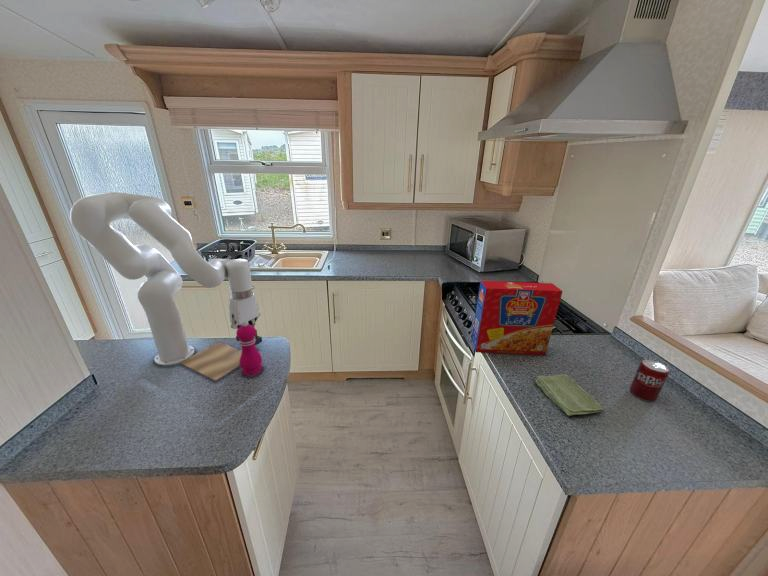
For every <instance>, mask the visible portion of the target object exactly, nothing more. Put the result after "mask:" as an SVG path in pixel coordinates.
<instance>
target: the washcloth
mask: <svg viewBox="0 0 768 576" xmlns="http://www.w3.org/2000/svg"><path fill="white" fill-rule="evenodd" d="M534 381H535V384H536V385H537V386H538V387H539V388H540V389H541V390H542V391H543V393H544V394H545V395H546V396H547V397H548V398H549V399H550V400H551V401H552V402H553V403H554V404H555V405H556V406H557V407H558V408H559V409H560V410H562V411H563V412H564V414H565V415H567V416H568V417H571V416H577V415H590V414H597V413H603V412H604V408H603V406H602V405H601V404H600V403H599V402H598V400H596V398H595V397H594V396H592V395H591V394H590V393H588V391H586V390H585V389H584V388H583V387H582V386H580V385H579V384H578V383H577V382H576V381H575V380H574V379H573V378H571V377H570V376H569V375H568V374H565V373H558V374H552V375H537V376H535V378H534Z"/></svg>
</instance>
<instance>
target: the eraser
mask: <svg viewBox="0 0 768 576" xmlns="http://www.w3.org/2000/svg"><path fill="white" fill-rule="evenodd" d="M255 330H256V335H255V339H256V341H255V347H256V346H258V345H259V344H260V343H262V342H263V338H262V336H259V335H258V331H257V328H255ZM235 339H236V341H237V342H239V340H240V339H238V337H237V335H235Z"/></svg>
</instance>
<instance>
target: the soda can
mask: <svg viewBox="0 0 768 576" xmlns="http://www.w3.org/2000/svg"><path fill="white" fill-rule="evenodd" d="M670 373H671V371H670V369H669V367H668V366H666V365H665V364H663V363H661V362H659V361H657V360H654V359H642V360H641V361H640V363H639V365H638V367H637V370H636V372H635V375H634V376H633V379H632V381H631V384H630V386H629V391H630V393H631V394H632V395H633V396H634V397H635V398H637V399H638V400H641V401H644V402H649V403H653V402H656V401H657V400H658V398H659V396H660V394H661V392H662V390H663V388H664V385H665V383H666V381H667V379H668V377H669V375H670Z"/></svg>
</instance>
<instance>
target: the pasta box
mask: <svg viewBox="0 0 768 576" xmlns="http://www.w3.org/2000/svg"><path fill="white" fill-rule="evenodd" d="M562 295H563V290H562V289H560V288H559V287H558V286H556V285H555V284H554V283H553V282H528V281H527V282H526V281H503V280H502V281H499V280H497V281H496V280H480V281H479V288H478V294H477V299H476V300H477V301H476V307H475V312H474V319H473V320H474V321H473V326H472V332H471V339H470V343H471V345H472V347H473V349H474V352H475V353H481V354H507V355H509V354H510V355H534V356H546V355H547V351H548V348H549V343H550V339H551V336H552V333H553V329H554V325H555V322H556V318H557V314H558V310H559V306H560V302H561V299H562Z"/></svg>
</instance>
